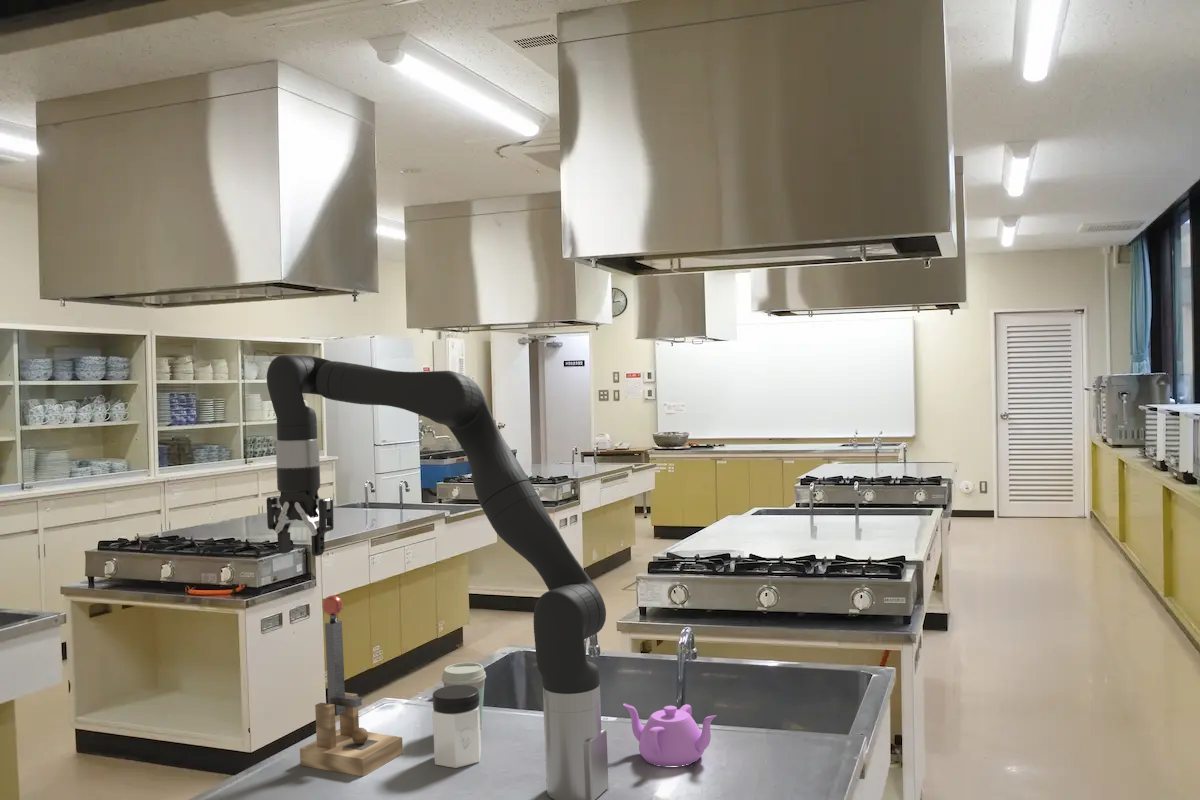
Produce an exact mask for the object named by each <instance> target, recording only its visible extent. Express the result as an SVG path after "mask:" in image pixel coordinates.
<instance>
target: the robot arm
mask: <svg viewBox="0 0 1200 800" xmlns="http://www.w3.org/2000/svg"><path fill="white" fill-rule="evenodd" d="M266 385H267V390H268V394H269V397H270V400H271V404H272V409H273V411H274V413H275V418H276V438H277V439H276V440H277V441H276V450H275V451H276V452H275V455H276V456H275V457H276V458H275V459H276V462H275V463H276V483H277V485H276V487H277V490H278V491H279V492H280V494H279V495H275V496H274V495H273V496H269V497H266V501H265V502H266V516H267V517H266V519H267V521H266V522H267V529H268V530H273V531H274V532H275V533H276V535H277V549H278V552H279V553H280V554H283V555H286V554H289V553H291V551H292V548H291V546H292V545H291V531H290V529H291V527H292V525H293V523H294V522H295V521H296V520H298V521H303V523H304V525H305V526H307V528H309V531H310V532H311V537H310V538H311V556H312V557H318V556H322V555H323V554H324V552H325V550H326V548H325V546H326V545H325V544H326V543H325V534H326V533H327V532H331V531H333V530H334V499H333V498H332V497H326V498H321V497H320V496H319V493H318V492H319V489H320V488H321V468H320V467H321V466H320V447H319V443H318V442H319V441H318V421H317V419H318V418H317V413H316V410H314V409H313V408H312V407H308V406H307V405H306V403H305V398H304V395H303V394H311V395H316V396H317V395H319V396H321V397H323V398H325V399H328V400H332V401H336V402H341V403H342V402H344V403H351V404H355V405H367V406H386V407H392V408H398V409H401V410H405V411H408V412H411V413H414V414H416V415H419V416H422V417H424V418H427V419H430V420H431V421H433V422H435V423H436V424H440V425H444V426H446V427H447V428H448V429H449V431H450V432H451V433H452V435H454V437H455V439H456V440H457V442H458V444H459V445H460V447H461V449H462V450H463V452H464V454H465V456H466V459H467V461H468V464H469V467H470V472H471V477H472V478H471V479H472V484H473V489H474V492H475V495H476V498H477V500H478V503H479V504H480V507H481V508H482V511H483V512H484V514H485V516H486V518H487V520H488V522H489V524H490V525H491V527H492V528H493V530H494V532H495V533H496V534H497V536H498V537H500V539H502V540H503V541H504V543H505V544H507V545H508V546H509V547H510V548H512V549H513V550H514V551H515V552H516V553H517V554H519V555H520V556H522V558H524V559H525V560H526V561H527V562H528V563H529V564H530V565H531V566H532V567H533V568H534V569H535V570H536V572H537V573H538V575H540V577H541V579H542V580H543V582H544V584H545V585H546V587H547V589H548V591H546V592H544V593H543V594H541V595H540V597H538V599H537V601H536V604H535V607H534V610H533V634H534V646H535V647H534V648H535V649H534V650H535V659H536V665H537V670H538V672H539V674H540V677H541V680H542V696H543V698H542V702H543V708H542V709H543V727H544V731H543V732H544V753H545V756H544V757H545V759H544V760H545V782H546V793H547V796H549V798H551V799H552V800H596V799H598V798H599V797H600V796H601V795H602V794H604V792H605V791H607V790H608V789H609V788H610V786H609V785H610V784H609V763H608V738H607V737H608V735H607V733H608V732H607V730H606V729H605V728H602V712H601V711H602V709H601V707H602V706H601V680H600V677H601V676H600V670H599V667H598V666H597V665H596V664H595V663H594V662H592V661H587V659H586V650H585V640H587V639H588V638H590V637H593V636H594V635H596V634H598V633H600V631H601V630H602V629H603V627H604V626H605V622H606V620H607V610H606V605H605V602H604V599H603V596H602V594H601V593H600V591H599V589H598V588H597V586H596V585H595V583H594V582H593V581H592V579H591V578H590V576H589V575H588V573H586V571H585V570H584V568H583V567H582V565H581V564H580V563H579V561H578V560H577V558H576V557H575V556H574V553H572V551H571V550H570V548H569V546H568V545H567V543H566V542H565V540H564V538H563V536H562V535H561V533H560V531H559V529H558V528H557V526H556V525H555V523H554V521H553V520H552V517H551V516H550V514H549V513H548V512H547V508H545V505H544V503H543V501H542V500H541V498H540V496H539V494H538V493H537V491H536V489H535V488H534V486H533V483H532V482H531V479H530V478H529V477H528V476H527V474H526V472H525V471H524V468H523V467H522V466H521V464H520V462H519V460H518V459H517V457H516V456H515V453H513V450H512V449H511V448H510V446H509V445H508V444H507V442H506V440H505V439H504V437H503V435H502V434H501V431H500V430H499V427H498V426H497V423H496V421H495V419H494V416H493V414H492V412H491V409H490V407H489V405H488V402H487V400H486V397H485V395H484V393H483V391H482V389H481V387H480V386H479V385H478V383H476V382H475V381H474V380H473V379H472V378H470V377H469V376H466V375H464V374H461V373H459V372H456V371H452V370H434V371H433V370H431V371H400V370H399V371H398V370H390V369H384V368H378V367H374V366H370V365H363V364H359V363H350V362H344V361H337V360H335V361H334V360H328V359H327V358H326V359H325V358H321V357H319V356H318V357H317V356H312V355H305V354H304V355H303V354H302V355H301V354H298V355H297V354H282V355H277V356H276V357H275V358H273V360H271V361H270V364H269V366H268V368H267V372H266Z"/></svg>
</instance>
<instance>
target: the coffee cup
mask: <svg viewBox="0 0 1200 800" xmlns="http://www.w3.org/2000/svg"><path fill="white" fill-rule="evenodd" d="M486 673H487V672H486V671H485V668H484V666H483V665H482V664H481V663H477V662H459V663H455V664H454V663H453V664H450V665H447V666H446V667H445V668H444V669H443V673H442V675H441V677H442V678H441V682H443V687H447V686H454V685H468V686H473V687H476V688H477V689H478V691H479V710H480V731H481V730H482V722H483V710H484V709H483V708H484V693H485V681H486V678H487V674H486Z"/></svg>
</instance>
